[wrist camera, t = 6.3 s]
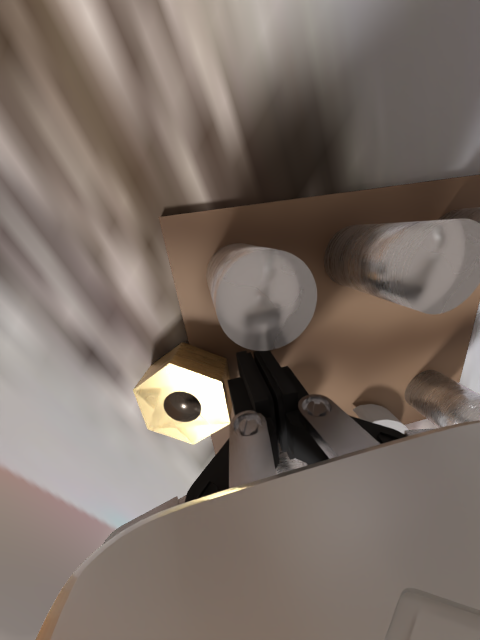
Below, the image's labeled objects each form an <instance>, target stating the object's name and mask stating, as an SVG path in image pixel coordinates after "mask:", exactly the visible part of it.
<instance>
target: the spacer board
mask: <svg viewBox="0 0 480 640" xmlns="http://www.w3.org/2000/svg"><path fill="white" fill-rule="evenodd" d="M477 207H480V175H472V176H465V177H457V178H450V179H442V180H435V181H427V182H420V183H412V184H404V185H397V186H389V187H382V188H374V189H367V190H359V191H352V192H344V193H336V194H329V195H321V196H314V197H306V198H299V199H291V200H284V201H276V202H268V203H261V204H253V205H246V206H238V207H231V208H223V209H216V210H208V211H200V212H193V213H185V214H178V215H170V216H163V217H159V221H160V225H161V229H162V233H163V238H164V242H165V246H166V250H167V254H168V258H169V263H170V267H171V271H172V275H173V279H174V283H175V288H176V292H177V296H178V300H179V304H180V308H181V313H182V317H183V321H184V325H185V329H186V334H187V338H188V342H189V345H192V346H194V347H197V348H200V349H202V350H205V351H208V352H210V353H213V354H216V355H218V356H221V357H224V358H226V359H227V364H228V369H229V375H230V379H234V378H238V377H240V375H239V369H238V363H237V357H236V352H241V351H245V350H246V351H247V353H249V352H251V354H252V356H253V358H254V355H253V351H256V350H250V349H247V348H244V347H242V346H240V345H238V344H236V343H235V342H234V341H232V340H231V339H230V338H229V337H228V336H227V335H226V333H225V332H224V331H223V329H222V327H221V325H220V323H219V321H218V317H217V314H216V310H215V307H214V304H213V300H212V297H211V293H210V290H209V287H208V283H207V267H208V264H209V262H210V260H211V258H212V256H213V255H214V254H215V253H216V252H217V251H218V250H219V249H221V248H222V247H224V246H226V245H229V244H233V243H242V244H248V245H254V246H259V247H265V248H271V249H277V250H282V251H286V252H288V253H291V254H293V255H295V256H297V257H298V258H299V259H301V260H302V261H303V262H304V263H305V264H306V265H307V267H308V268H309V269H310V271H311V273H312V275H313V277H314V280H315V283H316V288H317V303H316V308H315V312H314V314H313V317H312V319H311V321H310V323H309V324H308V326H307V327H306V329H305V330H304V331H303V332H302V333H301V334H300V335H299V336H298V337H297V338H296V339H295V340H293V341H292V342H290V343H289V344H287V345H285V346H283V347H280V348H277V349H274V350H270V351H271V353H272V354H273V356H274V357H275V359H276V360H277V362H278V363H279V365H280V366H281V367H285V366H288V367H289V368H290V369H291V370H292V372H293V373H294V375H295V376H296V377H297V379H298V380H299V381H300V383H301V384H302V386H303V387H304V388H305V390H306V391H307V392H308V394H309V395H310V394H319V395H323V396H326V397H328V398H329V399H331V400H332V401H333V402H334V403H335V404H336V405H338V406H339V407H340V408H341V409H342V410H343V411H344V412H345V413H346V414H348V415H349V416H352V417H356V418H359V417H358V415H357V414H356V413H355V412H354V411H353V409H354V408H356V407H357V406H359V405H366V404H374V405H379V406H382V407H384V408H386V409H388V410H389V411H390V412H391V413H392V414H393V415H394V416H395V417H396V418H397V419H398V420H399V421H400V422H402V423H403V424H404V425H405V424H409V423H413V422H416V421H420V420H423V419H427V418H426V417H424V416H423V415H422V414H421V413H419V412H418V411H417V410H416V409H414V408H413V407H412V406H410V405H409V404H408V403H407V402H406V400H405V390H406V388H407V386H408V384H409V383H410V381H411V380H412V379H413V378H414V377H415V376H417V375H418V374H420V373H421V372H424V371H427V370H436V371H438V372H440V373H442V374H444V375H445V376H447V377H449V378H451V379H453V380H454V381H456V382H458V383H459V382H460V378H461V374H462V370H463V366H464V362H465V358H466V354H467V350H468V346H469V342H470V338H471V334H472V330H473V325H474V321H475V317H476V313H477V309H478V305H479V301H480V283H479V285H478V286H477V288H476V289H475V290H474V292H473V293H472V294H471V295H470V296H469V297H468V298H467V299H466V300H465V301H464V302H463V303H461V304H460V305H459V306H457V307H456V308H454V309H452V310H450V311H447V312H445V313H441V314H426V313H423V312H420V311H417V310H414V309H411V308H408V307H405V306H402V305H399V304H396V303H393V302H390V301H387V300H384V299H381V298H378V297H376V296H373V295H370V294H367V293H364V292H361V291H358V290H355V289H352V288H349V287H346V286H343V285H340V284H337V283H335V282H334V281H332V280H331V279H330V278H329V276H328V275H327V273H326V270H325V266H324V256H325V251H326V248H327V246H328V244H329V242H330V240H331V239H332V238H333V236H334V235H335V234H336V233H337V232H339V231H340V230H341V229H343V228H345V227H348V226H352V225H366V224H382V223H399V222H415V221H431V220H439V219H440V218H441V217H443V216H444V215H445V214H447V213H448V212H450V211H453V210H457V209H467V208H477ZM234 416H235V415H234V411H233V406H232V412H231V420H232V418H233V417H234ZM359 419H360V418H359ZM231 420H230V422H231ZM229 426H230V424H229V425H227V426H225V427H223V428H221V429H220V430H218V431H216V432H214V433H213V434H211V438H212V442H213V446H214V450H215V455H216V454H217V453H218V452H219V450H220V449H221V448H222V446H223V445H224V444H225V443H226V441H227V440H228V439H229Z"/></svg>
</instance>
